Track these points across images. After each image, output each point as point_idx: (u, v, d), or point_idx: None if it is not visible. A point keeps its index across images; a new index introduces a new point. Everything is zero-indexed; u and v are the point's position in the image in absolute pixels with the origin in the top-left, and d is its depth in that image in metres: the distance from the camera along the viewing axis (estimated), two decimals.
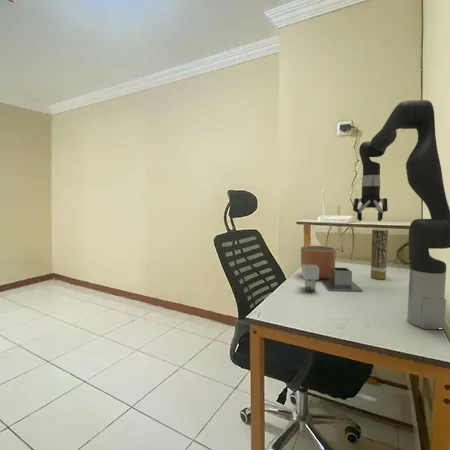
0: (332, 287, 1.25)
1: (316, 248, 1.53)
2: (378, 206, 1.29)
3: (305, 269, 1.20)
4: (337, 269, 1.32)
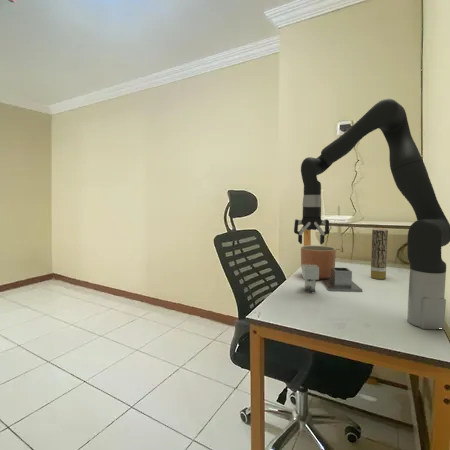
0: (332, 287, 1.25)
1: (316, 248, 1.53)
2: (319, 228, 1.19)
3: (305, 269, 1.20)
4: (337, 269, 1.32)
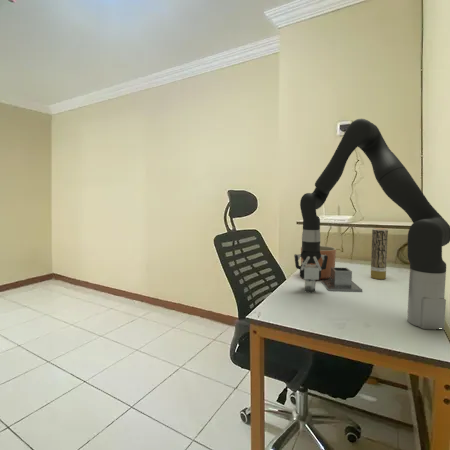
0: (332, 287, 1.25)
1: None
2: (317, 263, 1.20)
3: (305, 269, 1.20)
4: (337, 269, 1.32)
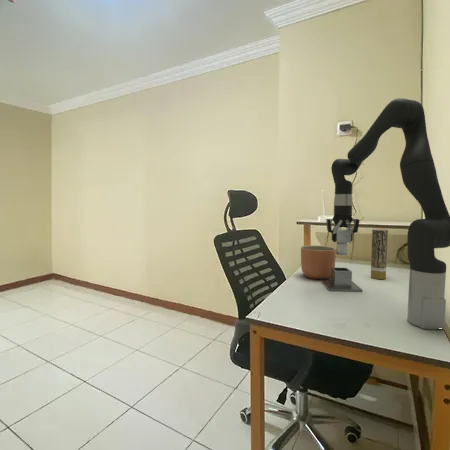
0: (332, 287, 1.25)
1: (316, 248, 1.53)
2: (349, 226, 1.25)
3: (338, 232, 1.25)
4: (337, 269, 1.32)
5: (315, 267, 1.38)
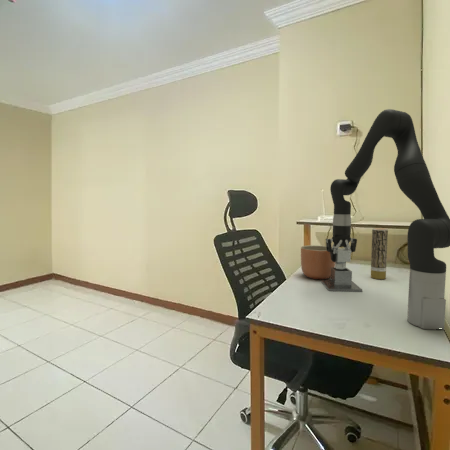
0: (332, 287, 1.25)
1: (316, 248, 1.53)
2: (348, 246, 1.26)
3: (338, 252, 1.25)
4: None
5: (315, 267, 1.38)
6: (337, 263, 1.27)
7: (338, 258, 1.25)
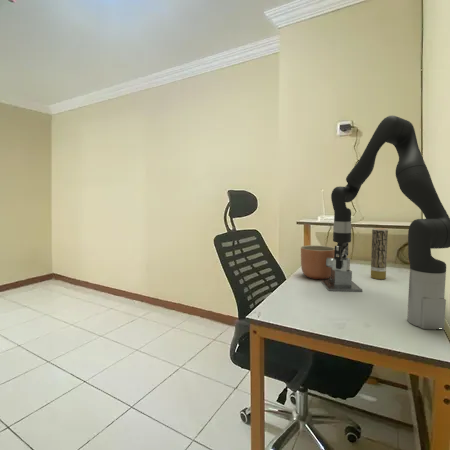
0: (332, 287, 1.25)
1: (316, 248, 1.53)
2: (347, 251, 1.29)
3: (346, 262, 1.24)
4: None
5: (315, 267, 1.38)
6: None
7: (346, 267, 1.25)
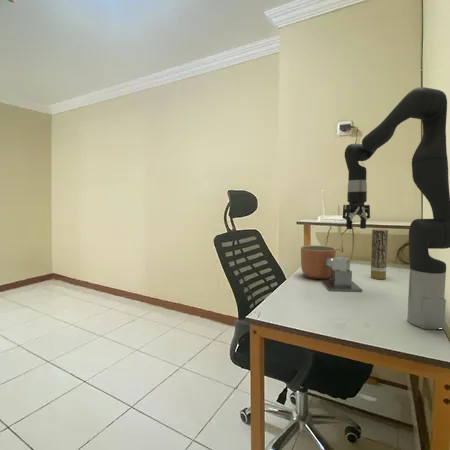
0: (332, 287, 1.25)
1: (316, 248, 1.53)
2: (364, 213, 1.22)
3: (346, 262, 1.24)
4: None
5: (315, 267, 1.38)
6: None
7: (346, 267, 1.25)
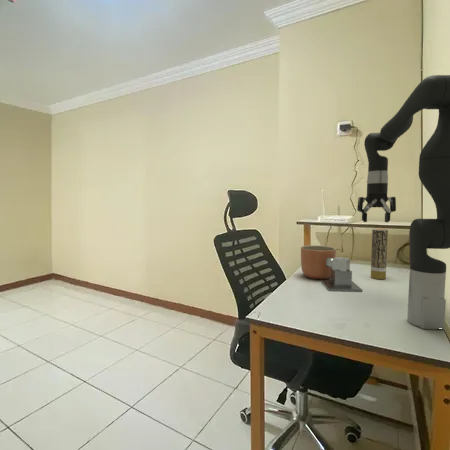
0: (332, 287, 1.25)
1: (316, 248, 1.53)
2: (385, 206, 1.15)
3: (346, 262, 1.24)
4: None
5: (315, 267, 1.38)
6: None
7: (346, 267, 1.25)
